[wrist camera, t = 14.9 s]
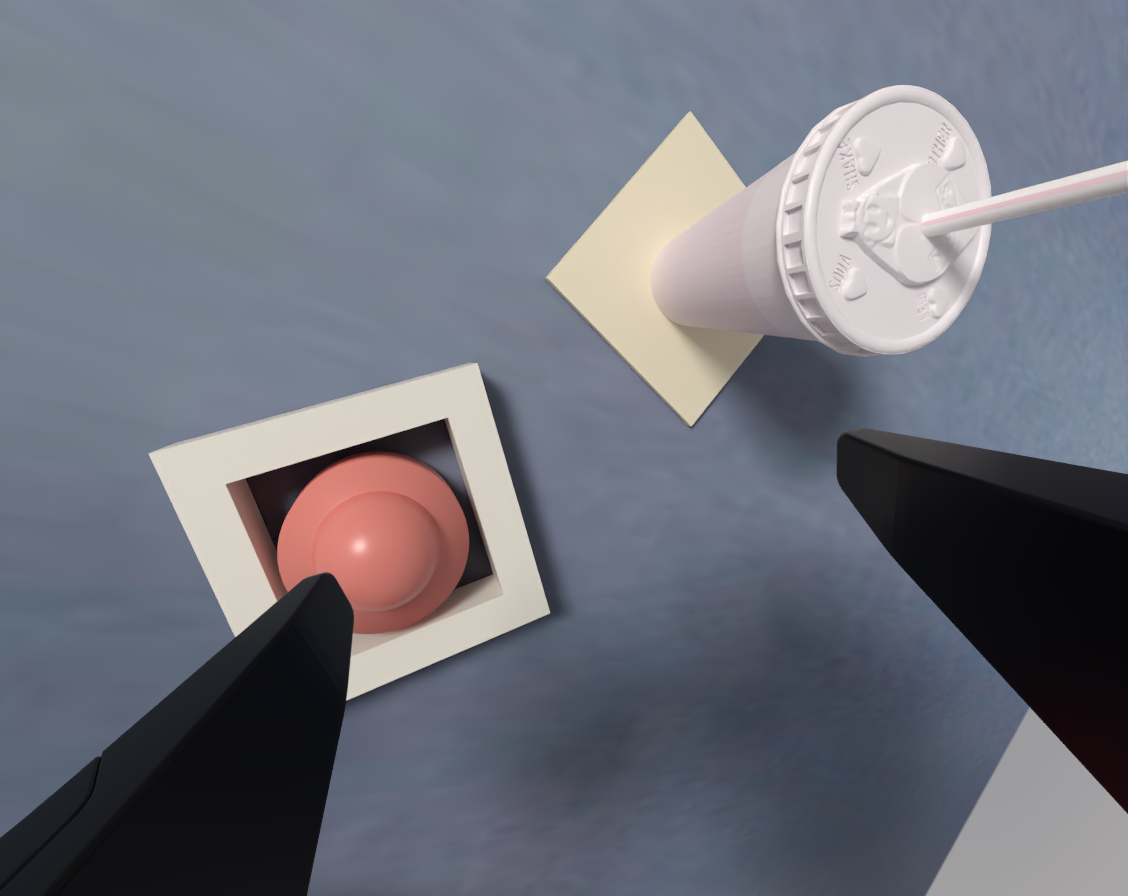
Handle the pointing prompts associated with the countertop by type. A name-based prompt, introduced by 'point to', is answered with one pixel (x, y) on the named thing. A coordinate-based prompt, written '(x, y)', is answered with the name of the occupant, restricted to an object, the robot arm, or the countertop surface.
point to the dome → (378, 538)
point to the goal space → (624, 263)
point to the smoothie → (857, 231)
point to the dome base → (225, 458)
